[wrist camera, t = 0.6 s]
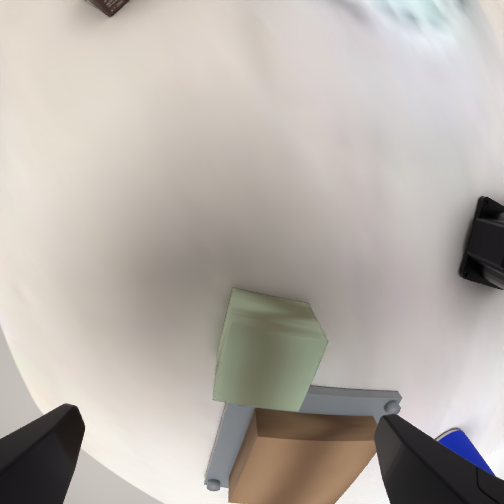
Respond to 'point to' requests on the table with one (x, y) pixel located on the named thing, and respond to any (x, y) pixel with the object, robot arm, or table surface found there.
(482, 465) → the beverage can
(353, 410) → the baseplate
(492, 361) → the table surface
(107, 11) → the box
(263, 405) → the block
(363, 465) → the base brick
